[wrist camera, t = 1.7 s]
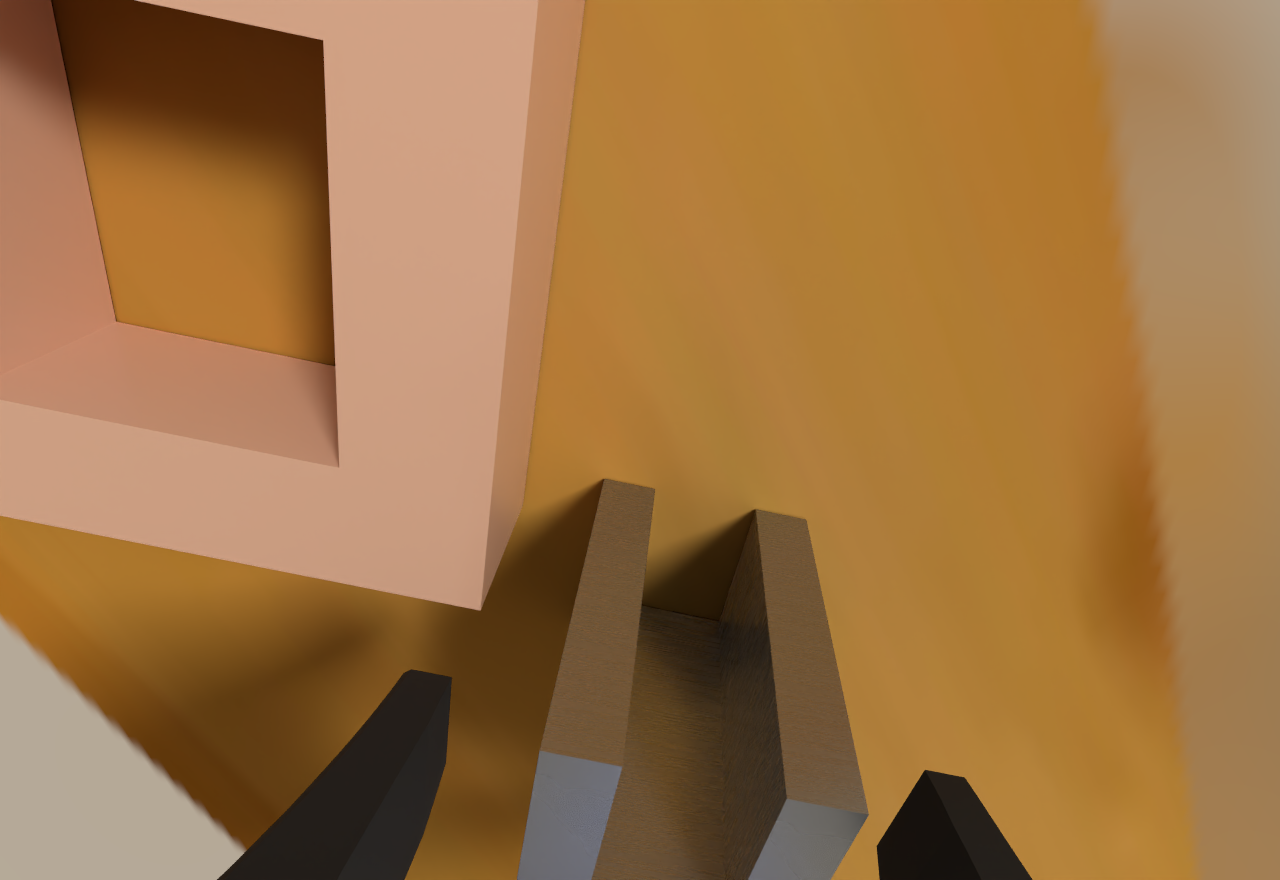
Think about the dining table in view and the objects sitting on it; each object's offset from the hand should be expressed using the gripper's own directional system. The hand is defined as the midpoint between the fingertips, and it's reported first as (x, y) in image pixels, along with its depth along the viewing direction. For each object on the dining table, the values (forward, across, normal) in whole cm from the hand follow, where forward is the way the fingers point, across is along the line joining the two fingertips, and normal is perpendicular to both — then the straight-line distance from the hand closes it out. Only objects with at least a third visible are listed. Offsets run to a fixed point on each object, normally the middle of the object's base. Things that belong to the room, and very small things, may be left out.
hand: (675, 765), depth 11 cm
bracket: (+4, 0, 0) cm, 4 cm away
